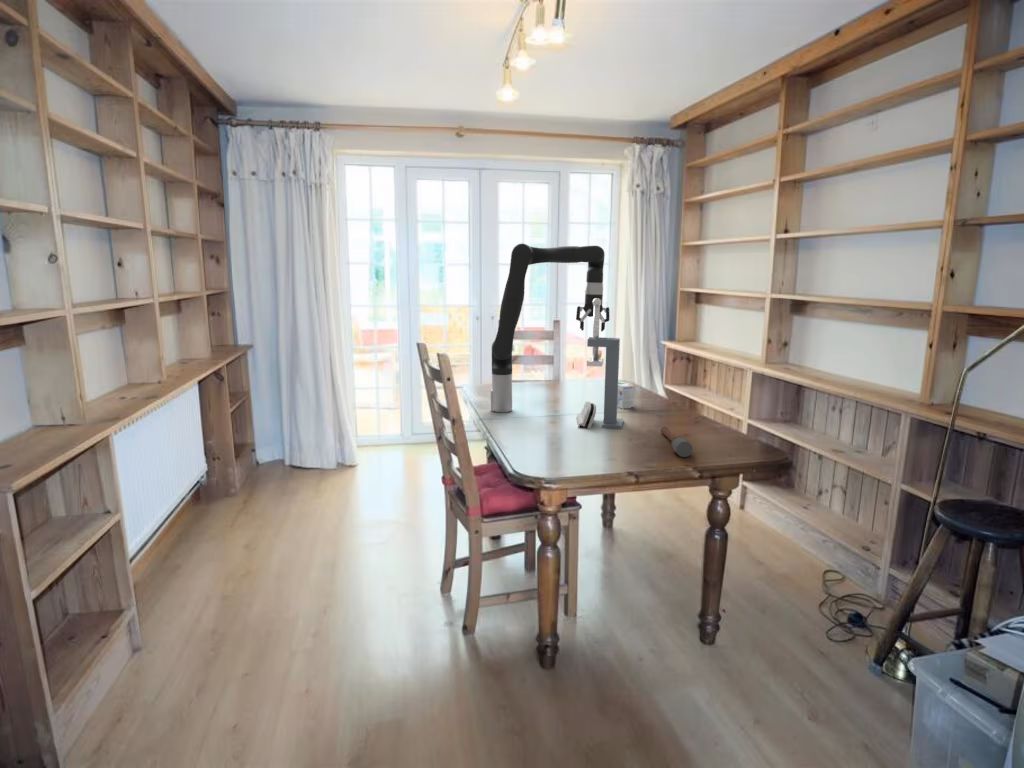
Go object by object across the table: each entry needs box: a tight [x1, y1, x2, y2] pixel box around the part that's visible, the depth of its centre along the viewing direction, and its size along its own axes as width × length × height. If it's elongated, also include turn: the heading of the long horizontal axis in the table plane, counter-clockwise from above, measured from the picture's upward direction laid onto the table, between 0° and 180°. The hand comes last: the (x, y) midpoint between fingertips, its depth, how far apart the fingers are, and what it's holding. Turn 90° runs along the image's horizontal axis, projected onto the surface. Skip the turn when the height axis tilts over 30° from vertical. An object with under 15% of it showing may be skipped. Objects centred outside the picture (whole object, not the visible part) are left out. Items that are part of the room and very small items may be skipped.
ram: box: [586, 298, 604, 368], centre depth 244 cm, size 6×20×27 cm, turn 167°
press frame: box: [587, 336, 624, 430], centre depth 241 cm, size 15×12×36 cm
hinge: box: [575, 401, 597, 429], centre depth 246 cm, size 17×5×10 cm, turn 176°
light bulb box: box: [617, 381, 636, 410], centre depth 276 cm, size 11×7×11 cm, turn 25°
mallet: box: [660, 426, 694, 458], centre depth 216 cm, size 6×6×30 cm
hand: (592, 330), depth 255 cm, fingers open, 8 cm apart
